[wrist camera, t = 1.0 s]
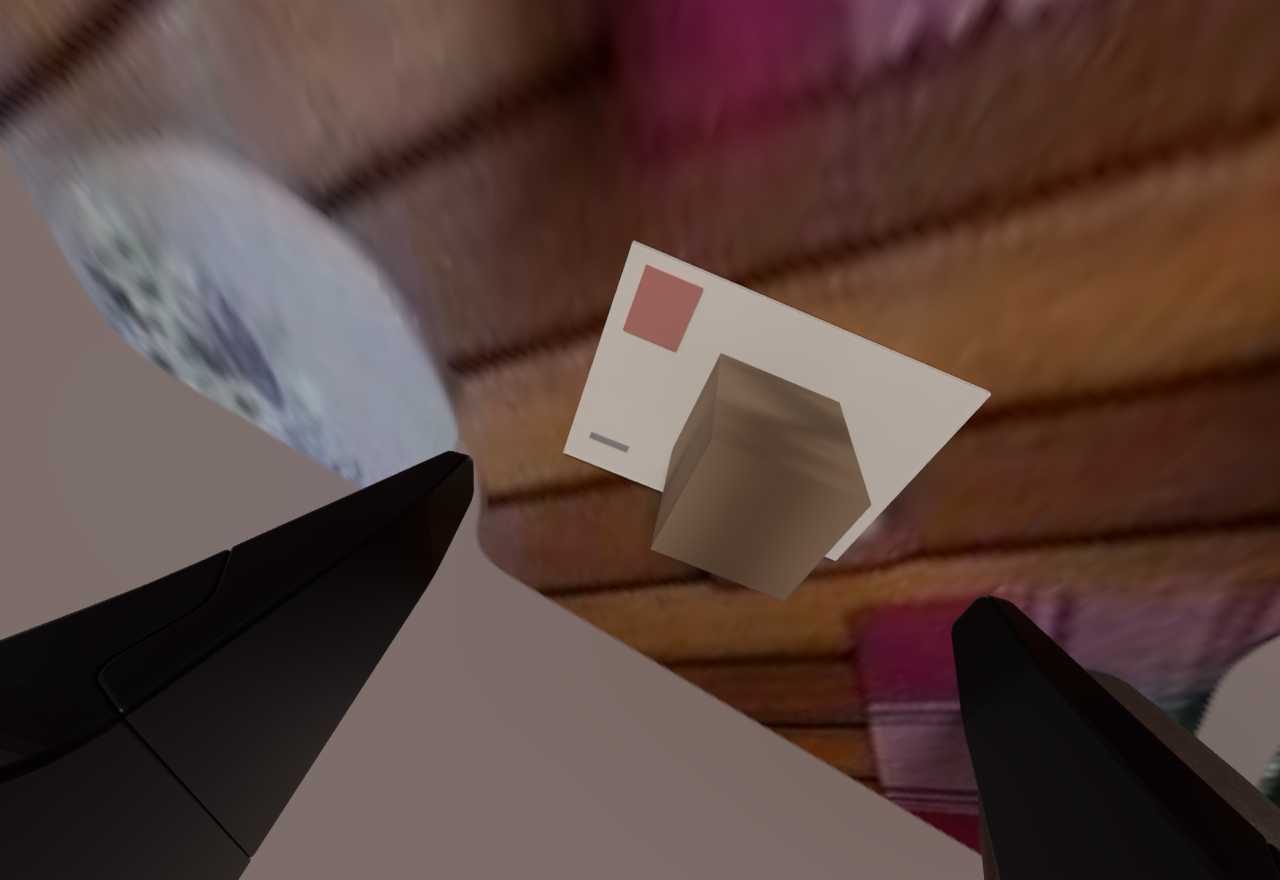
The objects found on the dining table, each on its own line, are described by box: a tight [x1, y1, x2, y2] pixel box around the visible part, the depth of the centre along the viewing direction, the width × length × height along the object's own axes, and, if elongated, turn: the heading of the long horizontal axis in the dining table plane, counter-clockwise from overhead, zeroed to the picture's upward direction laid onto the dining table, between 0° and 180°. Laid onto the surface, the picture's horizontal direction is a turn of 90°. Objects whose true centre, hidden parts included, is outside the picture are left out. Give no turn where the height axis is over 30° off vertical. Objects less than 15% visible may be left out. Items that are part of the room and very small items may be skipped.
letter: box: [563, 241, 991, 561], centre depth 20 cm, size 14×10×1 cm
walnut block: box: [651, 353, 871, 601], centre depth 18 cm, size 5×5×6 cm
